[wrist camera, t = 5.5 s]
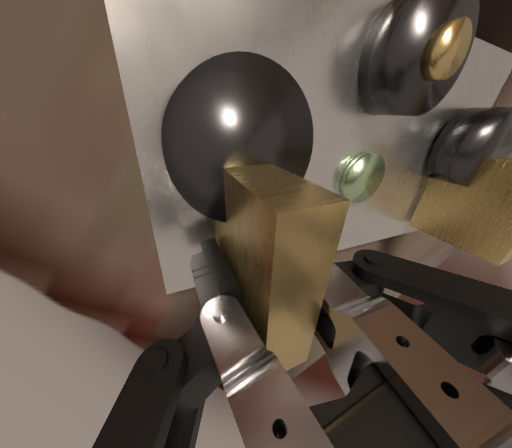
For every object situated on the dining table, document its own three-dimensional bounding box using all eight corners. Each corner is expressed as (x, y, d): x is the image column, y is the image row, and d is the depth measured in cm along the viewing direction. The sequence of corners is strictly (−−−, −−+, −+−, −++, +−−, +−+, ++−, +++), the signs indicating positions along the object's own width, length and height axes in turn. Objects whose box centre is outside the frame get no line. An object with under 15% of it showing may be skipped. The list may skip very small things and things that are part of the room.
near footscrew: (144, 58, 6) (108, -105, 2) (285, 74, 8) (469, 23, 3) (187, 278, 11) (213, 409, 6) (272, 255, 13) (341, 342, 8)
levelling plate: (90, -98, 6) (-12, -428, 2) (485, 55, 16) (586, 38, 12) (165, 271, 13) (169, 336, 9) (407, 219, 22) (456, 240, 19)
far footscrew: (452, 104, 13) (622, 101, 8) (489, 110, 15) (642, 110, 10) (396, 227, 18) (486, 271, 13) (430, 220, 20) (518, 255, 15)
